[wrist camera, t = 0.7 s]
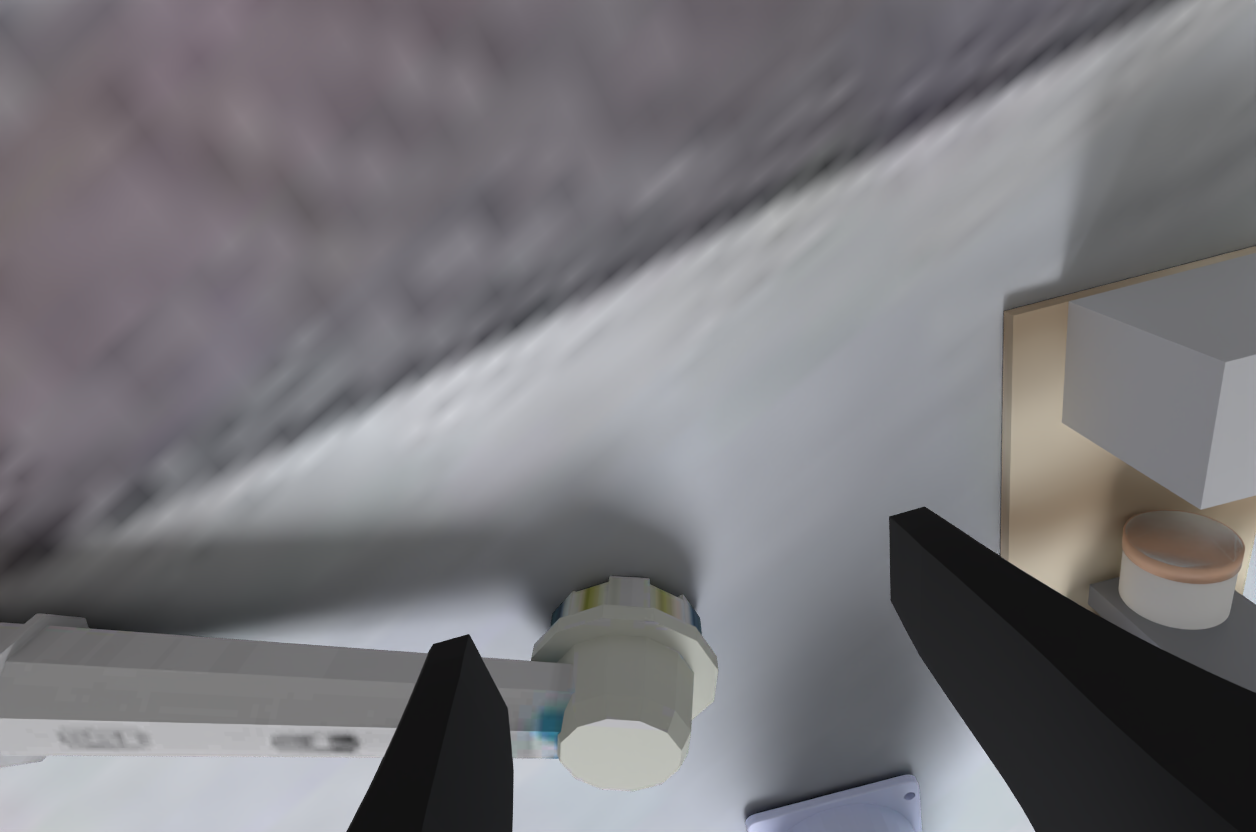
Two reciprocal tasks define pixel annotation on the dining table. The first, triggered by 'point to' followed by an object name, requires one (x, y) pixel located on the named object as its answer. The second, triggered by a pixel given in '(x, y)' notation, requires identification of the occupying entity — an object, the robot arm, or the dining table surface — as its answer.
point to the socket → (1171, 378)
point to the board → (1075, 463)
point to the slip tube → (1183, 592)
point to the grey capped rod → (362, 691)
